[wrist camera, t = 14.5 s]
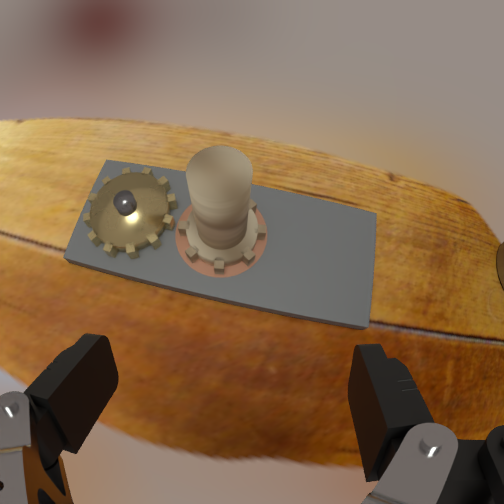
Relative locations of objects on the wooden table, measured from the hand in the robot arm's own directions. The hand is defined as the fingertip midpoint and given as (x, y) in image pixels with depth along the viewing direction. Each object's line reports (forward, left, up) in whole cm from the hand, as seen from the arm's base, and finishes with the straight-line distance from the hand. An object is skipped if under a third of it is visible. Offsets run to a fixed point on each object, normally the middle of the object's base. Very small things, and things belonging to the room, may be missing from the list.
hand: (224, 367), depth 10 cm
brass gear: (-3, -17, -17) cm, 25 cm away
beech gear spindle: (-8, -10, -17) cm, 21 cm away
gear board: (-8, -10, -19) cm, 23 cm away
